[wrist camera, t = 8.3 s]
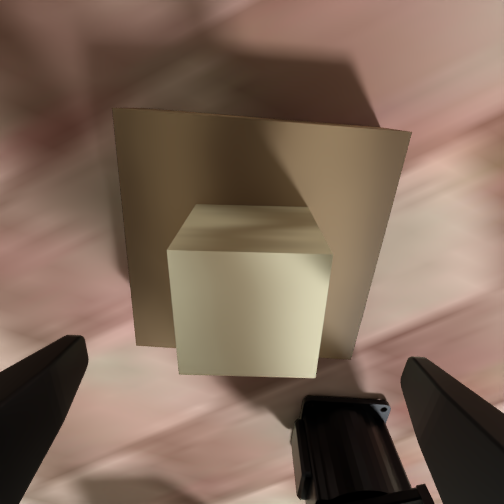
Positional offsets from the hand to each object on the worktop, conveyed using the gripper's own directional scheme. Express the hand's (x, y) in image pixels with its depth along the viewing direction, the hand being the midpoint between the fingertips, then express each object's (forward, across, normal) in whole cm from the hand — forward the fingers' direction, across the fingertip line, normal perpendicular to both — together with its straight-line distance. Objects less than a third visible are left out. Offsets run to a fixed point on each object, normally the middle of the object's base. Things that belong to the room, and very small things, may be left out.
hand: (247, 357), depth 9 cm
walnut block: (+11, 0, 0) cm, 11 cm away
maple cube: (+7, 0, 0) cm, 7 cm away
